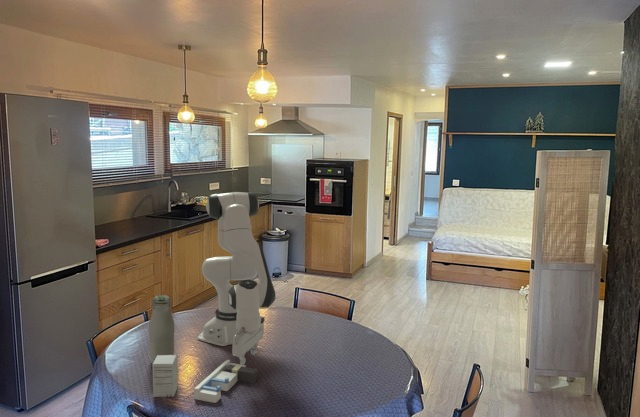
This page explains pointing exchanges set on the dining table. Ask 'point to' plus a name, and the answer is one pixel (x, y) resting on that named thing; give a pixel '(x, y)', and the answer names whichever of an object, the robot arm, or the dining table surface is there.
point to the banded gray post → (243, 373)
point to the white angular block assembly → (216, 383)
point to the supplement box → (165, 375)
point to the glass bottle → (161, 327)
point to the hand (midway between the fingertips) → (248, 358)
